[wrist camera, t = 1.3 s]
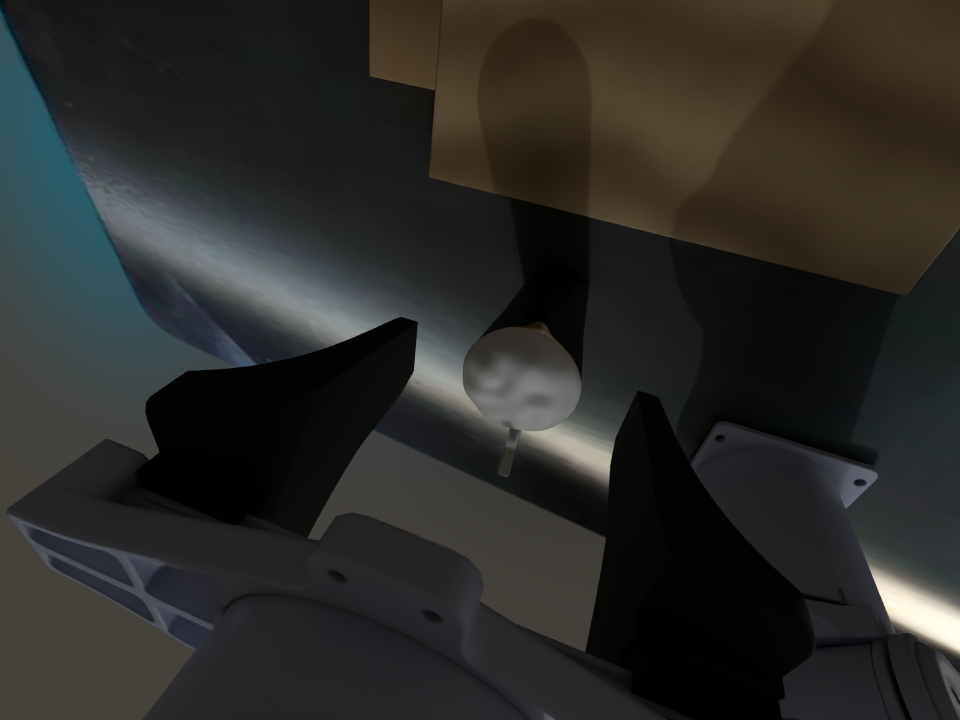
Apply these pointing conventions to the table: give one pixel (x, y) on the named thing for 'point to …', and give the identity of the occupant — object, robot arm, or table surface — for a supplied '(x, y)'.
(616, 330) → the table surface
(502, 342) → the milkshake
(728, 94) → the board
